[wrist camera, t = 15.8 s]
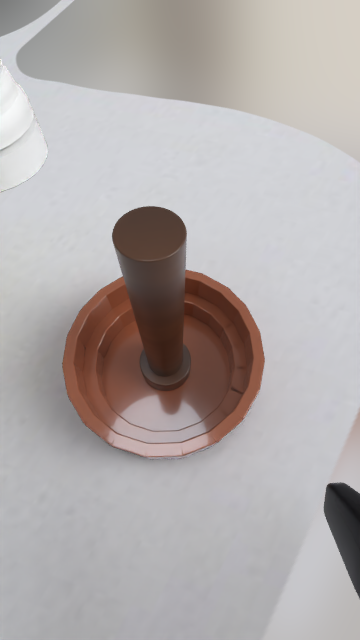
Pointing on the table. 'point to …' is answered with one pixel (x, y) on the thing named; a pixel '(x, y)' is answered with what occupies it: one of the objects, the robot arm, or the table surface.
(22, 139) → the honey pot
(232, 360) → the bowl
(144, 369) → the brown peg
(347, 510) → the robot arm
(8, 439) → the table surface
